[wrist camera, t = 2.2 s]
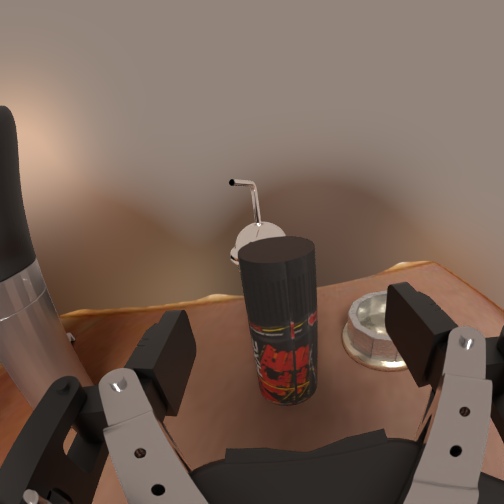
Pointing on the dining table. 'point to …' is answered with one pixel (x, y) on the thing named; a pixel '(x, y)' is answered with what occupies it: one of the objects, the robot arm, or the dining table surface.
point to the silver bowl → (371, 334)
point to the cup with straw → (253, 224)
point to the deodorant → (282, 315)
